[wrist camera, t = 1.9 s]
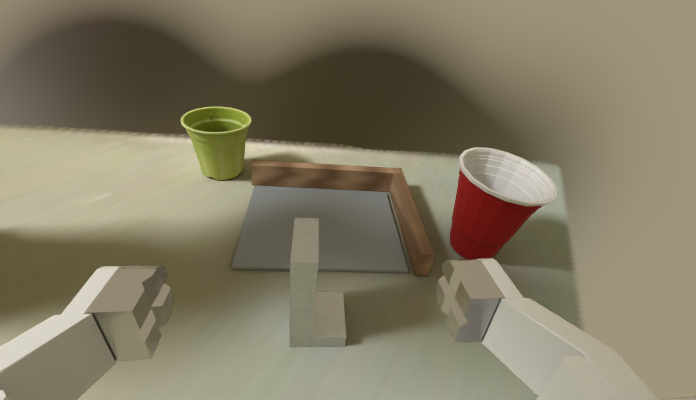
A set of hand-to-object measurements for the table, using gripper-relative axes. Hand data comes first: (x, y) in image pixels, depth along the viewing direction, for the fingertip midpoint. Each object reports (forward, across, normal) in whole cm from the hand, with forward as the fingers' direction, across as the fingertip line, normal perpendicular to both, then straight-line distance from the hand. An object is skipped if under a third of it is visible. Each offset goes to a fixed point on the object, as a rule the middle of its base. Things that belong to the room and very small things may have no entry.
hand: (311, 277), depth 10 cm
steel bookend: (+14, -1, +20) cm, 24 cm away
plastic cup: (+24, -22, +20) cm, 38 cm away
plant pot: (+41, +13, +17) cm, 47 cm away
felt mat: (+28, -2, +18) cm, 34 cm away
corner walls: (+29, -2, +18) cm, 34 cm away
